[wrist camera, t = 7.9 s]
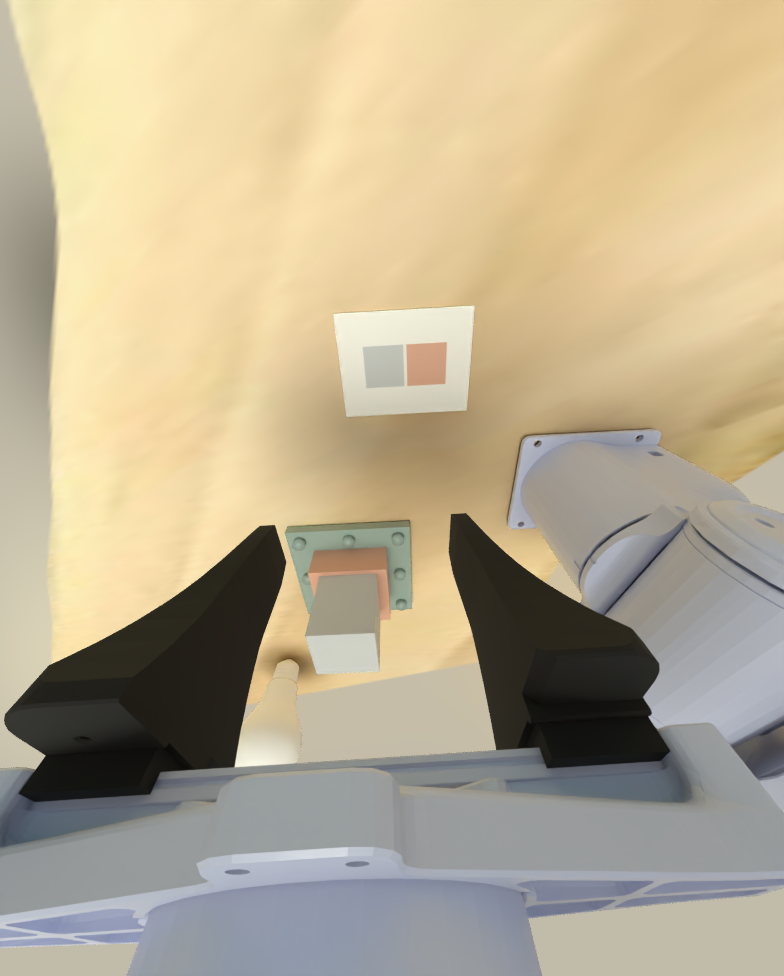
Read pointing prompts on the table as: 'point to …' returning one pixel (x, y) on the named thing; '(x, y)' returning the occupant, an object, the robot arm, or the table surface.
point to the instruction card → (405, 360)
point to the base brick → (354, 569)
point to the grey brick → (345, 624)
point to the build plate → (355, 537)
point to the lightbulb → (273, 723)
